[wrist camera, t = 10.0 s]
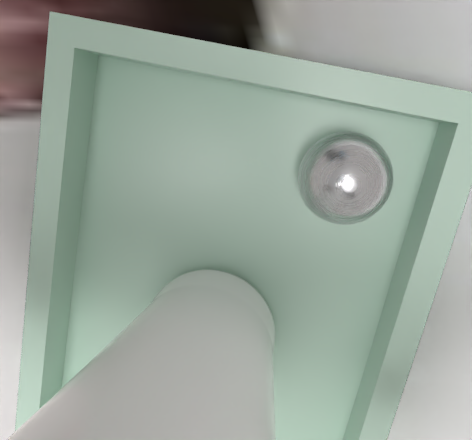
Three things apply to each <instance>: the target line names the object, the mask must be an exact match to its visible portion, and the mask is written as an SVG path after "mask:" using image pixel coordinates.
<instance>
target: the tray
mask: <svg viewBox="0 0 472 440" xmlns="http://www.w3.org/2000/svg"><path fill="white" fill-rule="evenodd" d="M343 131H351V132H357V133H361V134H364V135H366V136H368V137H370V138H372V139H373V140H375V141H376V142H377V143H378V144H380V145H381V147H382V148H383V149H384V150H385V152H386V153H387V155H388V157H389V158H390V161H391V164H392V168H393V186H392V190H391V193H390V196H389V198H388V200H387V202H386V203H385V204H384V206H383V207H382V208H381V209H380V210H379V211H378V212H377V213H376V214H375V215H373V216H372V217H370V218H369V219H367V220H365V221H362V222H359V223H356V224H350V225H339V224H333V223H330V222H327V221H325V220H322V219H321V218H319V217H317V216H316V215H315V214H313V213H312V212H311V211H310V210H309V209H308V207H307V206H306V205H305V203H304V201H303V199H302V197H301V195H300V192H299V188H298V170H299V166H300V163H301V161H302V159H303V157H304V155H305V153H306V152H307V151H308V149H309V148H310V147H311V146H312V145H313V144H314V143H315V142H317V141H318V140H319V139H321V138H323V137H325V136H327V135H330V134H333V133H336V132H343ZM471 186H472V92H469V91H464V90H459V89H453V88H448V87H443V86H438V85H433V84H427V83H422V82H417V81H412V80H406V79H401V78H396V77H391V76H385V75H380V74H375V73H370V72H365V71H359V70H354V69H349V68H344V67H338V66H333V65H328V64H323V63H318V62H312V61H307V60H302V59H297V58H291V57H286V56H281V55H276V54H270V53H265V52H260V51H255V50H250V49H244V48H239V47H234V46H229V45H223V44H218V43H213V42H208V41H202V40H197V39H192V38H187V37H182V36H176V35H171V34H166V33H161V32H155V31H150V30H145V29H140V28H135V27H129V26H124V25H119V24H114V23H108V22H103V21H98V20H93V19H87V18H82V17H77V16H72V15H67V14H61V13H56V12H51V11H50V14H49V26H48V38H47V50H46V62H45V75H44V87H43V99H42V111H41V123H40V135H39V147H38V159H37V171H36V183H35V195H34V207H33V219H32V232H31V244H30V256H29V268H28V280H27V292H26V304H25V316H24V328H23V340H22V352H21V364H20V376H19V388H18V401H17V413H16V425H15V431H16V430H17V429H18V428H19V427H20V426H21V425H22V424H24V423H25V422H26V421H27V420H28V419H29V418H30V417H31V416H32V415H33V414H34V413H35V412H36V411H37V410H38V409H40V408H41V407H42V406H43V405H44V404H45V403H46V402H47V401H48V400H49V399H50V398H51V397H52V396H53V395H54V394H56V393H57V392H58V391H59V390H60V389H61V388H62V387H63V386H64V385H65V384H66V383H67V382H68V381H69V380H70V379H72V378H73V377H74V376H75V375H76V374H77V373H78V372H79V371H80V370H81V369H82V368H83V367H84V366H85V365H86V364H88V363H89V362H90V361H91V360H92V359H93V358H94V357H95V356H96V355H97V354H98V353H99V352H100V351H101V350H102V349H103V348H104V347H106V346H107V345H108V344H109V343H110V342H111V341H112V340H113V339H114V338H115V337H116V336H117V335H118V334H119V333H120V332H121V331H122V330H123V329H124V328H125V327H127V326H128V325H129V324H130V323H131V322H132V321H133V320H134V319H135V318H136V317H137V316H138V315H139V314H140V313H141V312H142V311H143V310H144V309H145V308H146V307H147V306H148V305H149V304H150V303H151V301H152V300H153V299H154V297H155V296H156V295H157V294H158V292H159V291H160V290H161V289H162V288H163V287H164V286H165V285H166V284H168V283H169V282H170V281H172V280H173V279H175V278H176V277H178V276H180V275H183V274H185V273H188V272H191V271H196V270H219V271H224V272H227V273H230V274H233V275H235V276H237V277H239V278H241V279H243V280H245V281H246V282H247V283H249V284H250V285H251V286H253V287H254V288H255V289H256V290H257V291H258V292H259V293H260V295H261V296H262V297H263V298H264V300H265V302H266V303H267V305H268V307H269V309H270V311H271V314H272V317H273V321H274V325H275V348H274V357H273V364H274V397H275V423H276V440H387V438H388V435H389V432H390V429H391V426H392V423H393V420H394V417H395V414H396V411H397V408H398V405H399V402H400V399H401V396H402V393H403V390H404V387H405V384H406V381H407V378H408V375H409V372H410V369H411V366H412V363H413V360H414V357H415V354H416V351H417V348H418V345H419V342H420V339H421V336H422V333H423V330H424V327H425V324H426V321H427V318H428V315H429V312H430V309H431V306H432V303H433V300H434V297H435V294H436V291H437V288H438V285H439V282H440V279H441V276H442V273H443V270H444V267H445V264H446V261H447V258H448V255H449V252H450V249H451V246H452V243H453V240H454V237H455V234H456V231H457V228H458V225H459V222H460V219H461V216H462V213H463V210H464V207H465V204H466V201H467V198H468V195H469V192H470V189H471Z"/></svg>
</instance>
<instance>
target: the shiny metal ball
mask: <svg viewBox="0 0 472 440" xmlns="http://www.w3.org/2000/svg"><path fill="white" fill-rule="evenodd" d="M392 186H393V168H392V164H391V161H390V158H389V157H388V155H387V153H386V152H385V150H384V149H383V148H382V147H381V145H380V144H378V143H377V142H376V141H375V140H373V139H372V138H370V137H368V136H366V135H364V134H361V133H357V132H351V131H343V132H336V133H333V134H330V135H327V136H325V137H323V138H321V139H319V140H318V141H317V142H315V143H314V144H313V145H312V146H311V147H310V148H309V149H308V151H307V152H306V153H305V155H304V157H303V159H302V161H301V163H300V166H299V170H298V188H299V192H300V195H301V197H302V199H303V201H304V203H305V205H306V206H307V207H308V209H309V210H310V211H311V212H312V213H313V214H315V215H316V216H317V217H319V218H321V219H322V220H325V221H327V222H330V223H333V224H339V225H350V224H356V223H359V222H362V221H365V220H367V219H369V218H370V217H372V216H373V215H375V214H376V213H377V212H378V211H379V210H380V209H381V208H382V207H383V206H384V204H385V203H386V202H387V200H388V198H389V196H390V193H391V190H392Z"/></svg>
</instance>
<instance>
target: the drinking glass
mask: <svg viewBox="0 0 472 440" xmlns="http://www.w3.org/2000/svg"><path fill="white" fill-rule="evenodd" d="M274 348H275V325H274V321H273V317H272V314H271V311H270V309H269V307H268V305H267V303H266V302H265V300H264V298H263V297H262V296H261V295H260V293H259V292H258V291H257V290H256V289H255V288H254V287H253V286H251V285H250V284H249V283H247V282H246V281H245V280H243V279H241V278H239V277H237V276H235V275H233V274H230V273H227V272H224V271H219V270H196V271H191V272H188V273H185V274H183V275H180V276H178V277H176V278H175V279H173V280H172V281H170V282H169V283H168V284H166V285H165V286H164V287H163V288H162V289H161V290H160V291H159V292H158V294H157V295H156V296H155V297H154V299H153V300H152V301H151V303H150V304H149V305H148V306H147V307H146V308H145V309H144V310H143V311H142V312H141V313H140V314H139V315H138V316H137V317H136V318H135V319H134V320H133V321H132V322H131V323H130V324H129V325H128V326H127V327H125V328H124V329H123V330H122V331H121V332H120V333H119V334H118V335H117V336H116V337H115V338H114V339H113V340H112V341H111V342H110V343H109V344H108V345H107V346H106V347H104V348H103V349H102V350H101V351H100V352H99V353H98V354H97V355H96V356H95V357H94V358H93V359H92V360H91V361H90V362H89V363H88V364H86V365H85V366H84V367H83V368H82V369H81V370H80V371H79V372H78V373H77V374H76V375H75V376H74V377H73V378H72V379H70V380H69V381H68V382H67V383H66V384H65V385H64V386H63V387H62V388H61V389H60V390H59V391H58V392H57V393H56V394H54V395H53V396H52V397H51V398H50V399H49V400H48V401H47V402H46V403H45V404H44V405H43V406H42V407H41V408H40V409H38V410H37V411H36V412H35V413H34V414H33V415H32V416H31V417H30V418H29V419H28V420H27V421H26V422H25V423H24V424H22V425H21V426H20V427H19V428H18V429H17V430H16V431H15V432H14V433H13V434H12V435H11V436H10V437H9V438H8V439H7V440H276V423H275V397H274V364H273V357H274Z"/></svg>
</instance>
